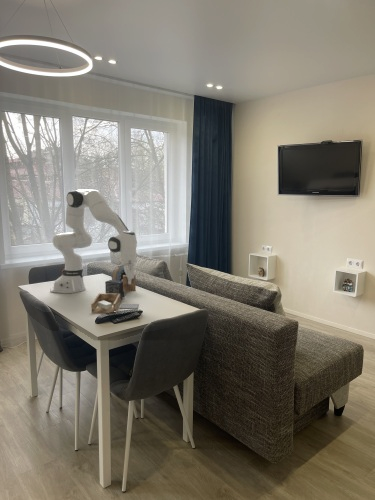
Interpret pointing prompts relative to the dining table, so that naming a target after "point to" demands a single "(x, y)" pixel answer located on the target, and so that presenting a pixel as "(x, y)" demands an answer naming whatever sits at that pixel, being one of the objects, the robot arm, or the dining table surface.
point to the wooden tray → (108, 298)
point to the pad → (129, 306)
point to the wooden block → (127, 286)
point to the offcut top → (105, 304)
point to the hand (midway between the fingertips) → (129, 283)
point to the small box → (115, 287)
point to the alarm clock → (118, 273)
